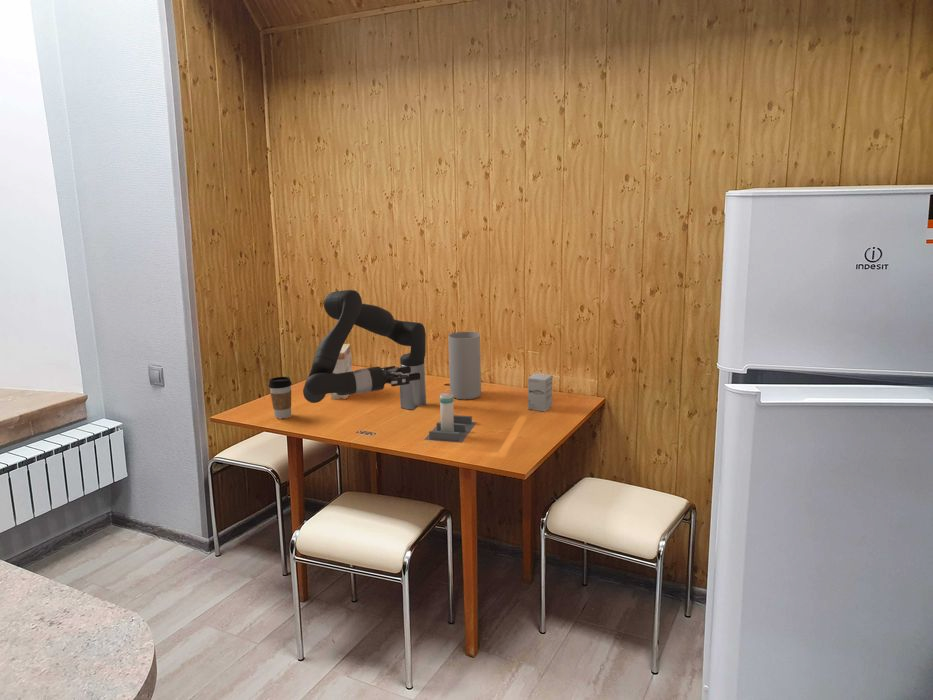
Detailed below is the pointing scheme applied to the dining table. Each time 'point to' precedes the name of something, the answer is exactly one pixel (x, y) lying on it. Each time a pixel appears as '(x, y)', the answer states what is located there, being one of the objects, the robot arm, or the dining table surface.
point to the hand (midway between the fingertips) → (415, 372)
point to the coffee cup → (281, 396)
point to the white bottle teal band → (447, 412)
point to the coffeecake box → (343, 366)
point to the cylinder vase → (465, 365)
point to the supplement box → (540, 392)
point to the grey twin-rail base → (460, 430)
